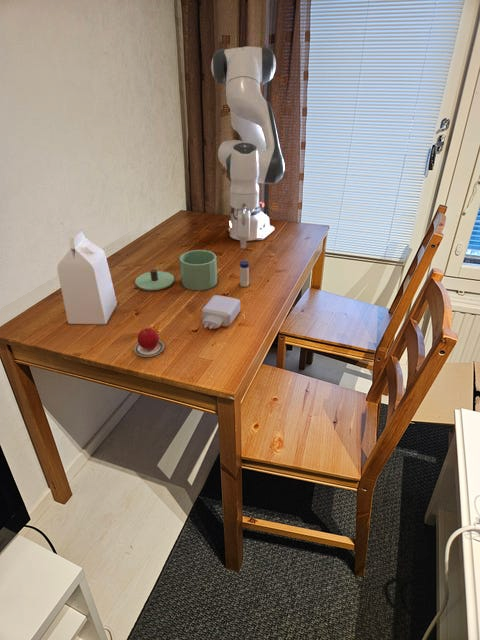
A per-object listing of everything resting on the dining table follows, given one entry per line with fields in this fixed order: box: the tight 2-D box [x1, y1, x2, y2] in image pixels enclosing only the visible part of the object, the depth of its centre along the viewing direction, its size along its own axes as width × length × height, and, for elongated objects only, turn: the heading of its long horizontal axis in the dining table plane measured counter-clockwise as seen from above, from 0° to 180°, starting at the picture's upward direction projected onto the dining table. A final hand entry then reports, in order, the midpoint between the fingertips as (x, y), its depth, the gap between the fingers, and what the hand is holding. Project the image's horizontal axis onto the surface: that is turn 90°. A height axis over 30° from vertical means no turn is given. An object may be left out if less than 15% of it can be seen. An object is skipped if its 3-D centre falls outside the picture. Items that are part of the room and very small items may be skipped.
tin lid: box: [134, 268, 175, 291], centre depth 145 cm, size 14×14×5 cm
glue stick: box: [239, 260, 250, 288], centre depth 142 cm, size 3×3×8 cm
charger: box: [201, 294, 241, 330], centre depth 123 cm, size 5×9×15 cm
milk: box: [56, 230, 118, 325], centre depth 122 cm, size 12×12×26 cm
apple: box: [133, 327, 165, 358], centre depth 111 cm, size 8×8×6 cm
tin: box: [179, 249, 218, 291], centre depth 144 cm, size 13×13×10 cm
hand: (243, 242), depth 136 cm, fingers open, 8 cm apart
